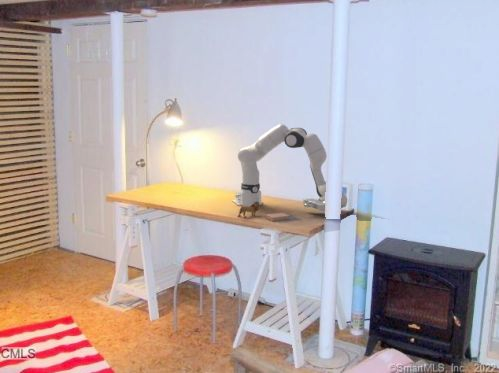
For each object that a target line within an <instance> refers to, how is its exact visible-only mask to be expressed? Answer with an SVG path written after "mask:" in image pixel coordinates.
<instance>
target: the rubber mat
mask: <svg viewBox="0 0 499 373" xmlns="http://www.w3.org/2000/svg"><path fill="white" fill-rule="evenodd" d="M285 214H287V215H289V219H285V220H277V221H276V222H277V223H280V224H281V223H290V222H298V221H299V222H300V221H303V219H302V218H299V217H297V216H294V215H292V214H290V213H285Z"/></svg>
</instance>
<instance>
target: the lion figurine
mask: <svg viewBox="0 0 499 373" xmlns="http://www.w3.org/2000/svg"><path fill="white" fill-rule="evenodd" d="M260 206H261V205H260V203H259V202H258V201H255V202H254V203H253V204H252V205H251V206H241V207H240V209H239V212H238V215H237V218H239V217H242V215H243V217H244V218H247V216H246V213H251V216H253V217H256V212H258V211H259V209H260ZM241 214H242V215H241Z"/></svg>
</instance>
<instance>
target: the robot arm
mask: <svg viewBox="0 0 499 373" xmlns="http://www.w3.org/2000/svg"><path fill="white" fill-rule="evenodd" d="M283 142H284V144H285V145H286V147H288V148H290V149H297V148H304V150H305V152H306V155H307V157H308V160H309V168H310V170H311V175H312V177H313V181H314V184H315V190H316V194H317V196H319V197H318V199H316V198H304V199H303V203H302V204H303V206H304V208H313V209H316V210H317V211H320V212H321V211H323V212H326V211H325V192H326V182H327V181H326V180H325V178H324V175H323V172H322V166H323V164H324V163H325V162H326V160H327V152H326V149H325V147H324V144H323V143H322V141H321V139H320V138H319V136H318V135H317V134H315V133H307V131H306V130H305V129H304V128H303V127H292V128H291V127H290V128H288V127H287V126H286V125H285V124H283V123H282V124H281V123H280V124H278V125H275V126H274V127H273V128H271V129H269V130H268V131H267V132H265V133H264V134H263V135H261V136H260V137H258V139H257V140H256V142H254V143H253V144H251V145H249V146H245V147H243V148H241V149H240V150H239V151H238V153H237V159H238V161H239V162H240V166H241V170H242V183H241V184H240V185H241V186H240V189H239V190H238V191H237V192H236V194H235V199H232V203H234V204H236V206H241V207H242V206H251V205H252V204H253V203H254V202H255V201H258V202H259V203H260V206H261V205H262V204H264V202H263V201H262V191H261V190H260V189H261V184H260V171H259V169H258V164H257V163H258V162H260V160H262V159H263V158H264V157H266V155H268V154H269V153H270V152H271V151H273V150H274V149H275V148H276V147H277V146H280V145H281V144H282V143H283ZM347 204H348V197H347V196H346V195H345V194H344V191H343V190H342V198H341V208H340V209H343V208H345V207H346V206H347Z"/></svg>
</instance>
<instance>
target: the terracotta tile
mask: <svg viewBox="0 0 499 373" xmlns="http://www.w3.org/2000/svg"><path fill="white" fill-rule="evenodd" d="M287 214H288V213H287ZM287 214H286V213H284V212H278V213H268V214H264V218H265V219H266V220H269V221H271V222H277V220H285V219H289V215H290V214H289V215H287Z"/></svg>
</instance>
